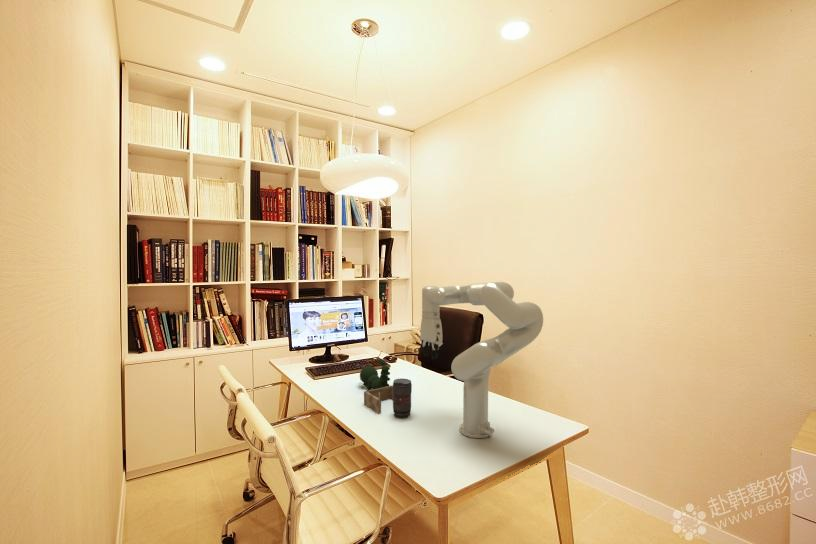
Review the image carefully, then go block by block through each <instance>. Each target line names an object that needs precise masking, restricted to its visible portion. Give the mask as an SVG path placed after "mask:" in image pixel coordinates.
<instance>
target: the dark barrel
mask: <svg viewBox="0 0 816 544" xmlns="http://www.w3.org/2000/svg"><path fill="white" fill-rule="evenodd" d="M392 386H393V399H392V409H393V410H392V412H393V414H394V415H393V416H394V417H395V418H398V419H406V418H408V417H410V415H411V410H412V409H411V408H412V387H413V386H412V380H411V379H407V378H395V379H394V380H393V383H392Z"/></svg>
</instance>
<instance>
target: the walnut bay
mask: <svg viewBox="0 0 816 544" xmlns="http://www.w3.org/2000/svg"><path fill="white" fill-rule="evenodd" d="M372 389H373V388H372ZM372 389H370V390H365V391H363V405H365V406H366V407H367V408H368V409H370V410H371V411H373V412H375V413H376V414H378V415H379V414H382V402H384V401H388V400H393V384H392V385H389V386H387V387H382V388H378V389H373V390H372Z"/></svg>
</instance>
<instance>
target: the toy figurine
mask: <svg viewBox="0 0 816 544" xmlns="http://www.w3.org/2000/svg"><path fill="white" fill-rule="evenodd" d="M377 363H379V364H380V365H381V370H380V376H379V373H378V370H377V369H376V367H374V366H372V365H367V366H361V369H360V372H359V378H360V381H361V382H362V383H363V385H364V386H365V387H366V389H367V391H369V390H373V389H378V388H382V387H387V386H390V384H389V382H390V380H391V378H390V377H389V376H390V375H391V372H390V371H389V370H390V369H391V368H390V367H389V366H388V365H387V364H386V361H385V360H384V358H379V359H378V360H377Z"/></svg>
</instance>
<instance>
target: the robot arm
mask: <svg viewBox="0 0 816 544" xmlns="http://www.w3.org/2000/svg"><path fill="white" fill-rule="evenodd" d="M421 291H422V292H421V321H420V334H419V335H420V336H419V339H420V341H421V344H422V345H421V346H422V348H423V350H422V351H423V353H422V354H423V357H430V355H431V359H432V360H436V359H439V349H440V347H441V346H442V345H443V344H444V343H443V326H442V321H441V318H440V317H441V315H440V310H441V309H440V308H441V307H442V306H443V307H444V306H449V305H456V304H471V305H472V306H485V307H486V308H487V309H488V310H489V311H490V313H492V314H493V315H494V316H495V317H496V318H497V319H498V320H499V321H500V322H501V323H502V324H503V325H505V326H506V327H508V328H507V329H505V330H504V331H503V332H501V333H500V334H498V335H497V336H494V337H492V338H488V339H485V340H481V341H479V342H477V343H475V344H473V345H472V346H470V347H469V348H467V349H466V350H464V351H463V352H460V353H459V354H457V356H455V358H454V359H453V360H452V362H451V365H450V366H451V367H450V368H451V373H452V375H453V376H454V377H455V379H457V380H459V381H463V396H462V397H463V398H462V399H463V408H462V409H463V411H462V412H463V414H462V415H463V417H462V418H463V419H462V420H463V421H462V423H461V424H460V425H459V433H461V435H463V436H465V437H468V438H471V439H485V438H488V437H492V436H493V435H494V433H495V428H493V427H491V421H489V380H490V373H491V368H492V367H495V366H497V365H499V364H502V363H503V362H504V361H505V360H507V359H508V358H511V357H512V356H513V355H515V354H516V353H518V352H520V351H521V350H522V349H524V348H526V347H527V346H528V345H530V344H531V343H533V342H534V341H536V338H538V336H539V335H540V333H541V331H542V328H543V326H544V314H543V311H542V309H541V308H540V306H539V305H537V304H535V303H534V302H530V301H527V302H525V301H524V302H519V303H516V302H515V301H514V300H513V298H514V296H515V291H514V288H513V286H512V285H511V284H510V283H507V282H504V281H496V282H492V281H491V282H482V283H481V282H479V283H471V284H468V285H454V286H453V285H452V286H451V285H450V286H441V287H439V286H432V285H431V286H424V287H422V289H421ZM440 306H441V307H440ZM430 343H431V345H430ZM430 346H431V347H430Z"/></svg>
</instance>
